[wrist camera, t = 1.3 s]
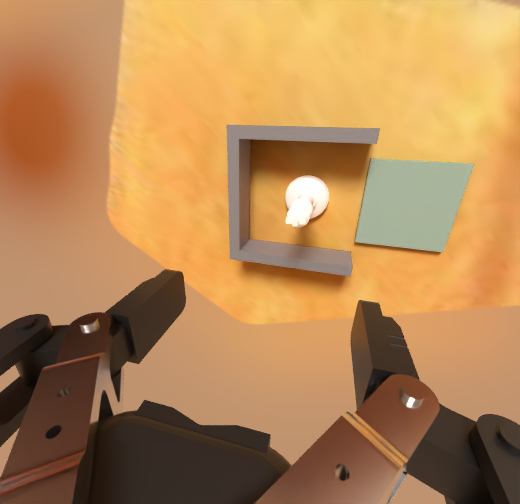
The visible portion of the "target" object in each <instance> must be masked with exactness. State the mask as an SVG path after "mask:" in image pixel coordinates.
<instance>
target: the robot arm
mask: <svg viewBox="0 0 520 504" xmlns="http://www.w3.org/2000/svg"><path fill="white" fill-rule="evenodd" d="M185 303H186V296H185V287H184V277H183V273H182V272H180V271H174V270H168V269H165V270H164V271H162V272H161V273H160V274H159V275H157V276H156V277H155V278H152V279H149V280H147V281H145V282H143V283H142V284H140V285H139V286H138V287H136V288H135V290H133V291H131V292H130V293H129V294H128V295H126V296H125V297H124V298H123V299H121V300H120V301H119V302H117V303H116V304H115V305H114V306H112V307H111V308H110V309H109V310H107V311H106V312H105V313H102V312H95V313H90V314H86V315H83V316H81V317H79V318H77V319H76V320H74V321H73V322H72V323H71V324H70V325H58V326H52V325H51V323H50V320H49V317H48V316H47V315H43V314H34V315H28V316H25V317H22V318H19V319H17V320H15V321H13V322H11V323H9V324H7V325H6V326H4V327H3V328H1V329H0V376H1V375H2V374H3V373H5V372H6V371H7V370H8V369H10V368H11V367H12V366H14V365H15V366H16V368H17V370H18V372H19V374H20V377H18V378H17V379H16V380H15V381H14V382H12V383H11V384H10V385H9V386H8V387H6V388H5V389H4V390H3V391H2V392H0V447H1V445H3V444H4V443H5V442H6V440H8V439H9V438H10V437H11V436H12V435H13V433H14V432H16V431H17V429H19V431H18V434H17V436H16V439H15V442H14V444H13V447H12V449H11V452H10V455H9V457H8V460H7V462H6V465H5V468H4V470H3V473H2V476H1V477H0V504H390V503H391V502H392V500H393V498H394V496H395V495H396V493H397V492H398V490H399V488H400V487H401V485H402V483H403V482H404V480H405V479H406V477H407V475H408V474H410V475H412V476H413V477H415V478H416V479H418V480H420V481H421V482H423V483H425V484H426V485H428V486H430V487H431V488H433V489H434V490H436V491H438V492H439V493H441V494H443V495H444V497H445V500H446V504H520V425H518V424H517V423H515V422H513V421H511V420H509V419H507V418H505V417H502V416H498V415H493V414H485V415H482V416H480V417H479V419H478V420H477V422H475V421H473V420H471V419H469V418H467V417H465V416H463V415H460V414H458V413H456V412H454V411H451V410H450V409H448V408H446V407H444V406H443V405H441V404H440V403H439V401H438V399H437V397H436V395H435V394H434V393H433V391H432V390H431V389H430V388H429V387H428V386H427V385H426V384H424V383H423V382H421V381H420V380H419V377H418V374H417V371H416V369H415V366H414V363H413V360H412V358H411V355H410V352H409V349H408V348H407V344H406V341H405V340H404V335H403V333H402V330H401V328H400V326H399V325H398V324H397V323H396V322H395V321H394V320H393V319H392V318H390V317H385V316H383V315H382V312H381V308H380V305H379V303H375V302H369V301H362V300H359V301H358V304H357V309H356V313H355V318H354V323H353V326H352V331H351V353H352V363H353V373H354V384H355V393H356V404H357V411H356V412H355V413H354V414H350V413H349V412H346V413H344V414H343V415H342V416H340V417H339V418H338V420H336V421H335V423H334V424H333V425H332V426H331V427H330V428H329V429H328V430H327V431H326V432H325V433H324V434H323V435H322V436H321V437H320V438H319V439H318V440H317V441H316V442H315V443H314V444H313V445H312V446H311V447H310V448H309V449H308V450H307V451H306V452H305V453H304V454H303V455H302V456H301V457H300V458H299V459H298V460H297V461H296V462H295V463H294V464H293V465H292V466H291V464H290V463H289V462H288V461H287V460H286V459H285V458H284V457H283V456H282V455H280V454H279V453H278V452H277V451H275V450H274V449H272V448H271V447H270V434H267V433H263V432H260V431H256V430H252V429H249V428H245V427H241V426H238V425H199V424H197V423H196V422H194V421H193V420H191V419H190V418H188V417H186V416H185V415H183V414H182V413H180V412H179V411H177V410H176V409H174V408H172V407H168V406H165V405H161V404H158V403H154V402H150V401H147V400H144V401H143V403H142V404H141V406H140V407H139V409H138V410H137V411H128V412H123V387H124V368H123V365H124V364H125V363H126V362H127V361H128V362H132V363H137V364H139V363H140V362H141V361H142V359H143V358H144V357H145V356H146V355H147V353H148V352H149V351H150V350H151V349H152V347H153V346H154V345H155V344H156V343H157V341H158V340H159V339H160V338H161V337H162V335H163V334H164V333H165V332H166V331H167V329H168V328H169V327H170V326H171V325H172V323H173V322H174V321H175V320H176V318H177V317H178V316H179V315H180V314H181V313H182V311H183V309H184V307H185Z"/></svg>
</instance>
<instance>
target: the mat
mask: <svg viewBox="0 0 520 504" xmlns="http://www.w3.org/2000/svg"><path fill="white" fill-rule="evenodd" d="M473 166H474V164H472V163H452V162H432V161H411V160H390V159H370V163H369V169H368V174H367V179H366V184H365V189H364V195H363V200H362V205H361V210H360V215H359V221H358V226H357V231H356V236H355V242H359V243H368V244H376V245H385V246H393V247H402V248H411V249H419V250H428V251H436V252H443V251H444V249H445V246H446V243H447V240H448V237H449V234H450V231H451V229H452V226H453V223H454V220H455V217H456V214H457V211H458V209H459V206H460V203H461V200H462V197H463V194H464V192H465V189H466V186H467V183H468V180H469V177H470V174H471V172H472V169H473Z"/></svg>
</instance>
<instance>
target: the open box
mask: <svg viewBox="0 0 520 504" xmlns="http://www.w3.org/2000/svg"><path fill="white" fill-rule="evenodd" d="M379 131H380V129H378V128H337V127H296V126H254V125H227V152H228V195H229V238H230V259H233V260H240V261H247V262H254V263H261V264H268V265H275V266H282V267H289V268H295V269H302V270H309V271H316V272H323V273H330V274H337V275H344V276H351V272H352V267H353V265H352V258H351V252H350V251H342V250H334V249H325V248H317V247H309V246H301V245H293V244H285V243H277V242H269V241H261V240H253V239H249V236H250V147H251V139H257V140H285V141H312V142H339V143H367V144H377V141H378V136H379Z"/></svg>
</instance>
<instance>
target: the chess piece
mask: <svg viewBox="0 0 520 504" xmlns="http://www.w3.org/2000/svg"><path fill="white" fill-rule="evenodd" d="M285 200H286V205H287V207H288V209H289V210H288V212H287V218H286V224H290V225H292V226H293V227H297V228H300V227H303V226H305V225H306V224H307V223H308V222H309V219H311V218H315V217H317V216H318V215H320V214H321V213H322V212H323V211H324V210H325V208H326V207H327V205H328V202H329V191H328V188H327V186H326V185H325V183H324V182H323V181H322V180H321V179H319V178H317V177H315V176H311V175H304V176H300V177H298V178H296V179H295V180H293V181H292V182H291V183H290V185H289V186H288V188H287V191H286V196H285Z"/></svg>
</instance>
